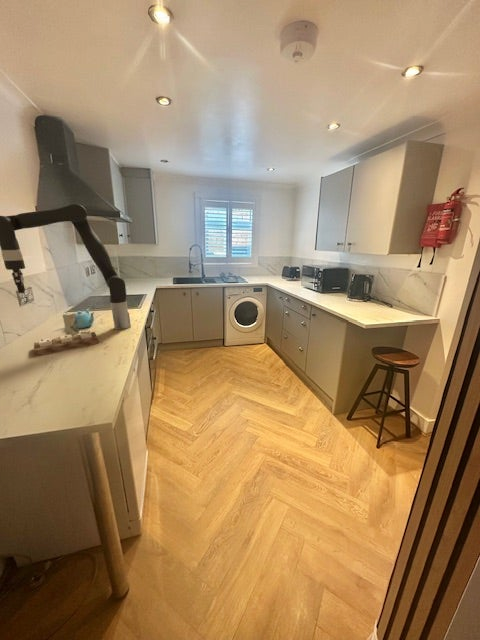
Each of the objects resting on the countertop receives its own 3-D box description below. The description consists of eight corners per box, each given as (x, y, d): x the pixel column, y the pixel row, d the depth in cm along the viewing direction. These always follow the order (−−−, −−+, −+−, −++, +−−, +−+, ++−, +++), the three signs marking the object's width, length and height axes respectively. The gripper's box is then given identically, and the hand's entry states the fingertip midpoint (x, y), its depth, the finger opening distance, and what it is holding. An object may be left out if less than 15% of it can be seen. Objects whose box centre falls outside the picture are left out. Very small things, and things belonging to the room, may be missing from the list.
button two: (52, 344, 134) (50, 337, 133) (52, 347, 131) (51, 340, 129) (40, 346, 131) (38, 339, 130) (40, 349, 128) (38, 342, 126)
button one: (72, 340, 139) (70, 333, 138) (73, 343, 136) (71, 336, 135) (61, 342, 137) (59, 335, 135) (62, 345, 133) (60, 338, 132)
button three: (90, 336, 145) (89, 330, 144) (92, 339, 141) (91, 332, 140) (80, 338, 142) (79, 332, 141) (81, 341, 138) (80, 334, 137)
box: (72, 335, 150) (68, 315, 147) (66, 335, 151) (61, 314, 147) (79, 332, 155) (75, 312, 152) (73, 332, 156) (69, 312, 152)
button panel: (95, 336, 149) (94, 331, 148) (98, 342, 140) (97, 337, 139) (35, 348, 133) (34, 343, 132) (35, 356, 124) (33, 350, 123)
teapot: (71, 331, 157) (68, 316, 154) (66, 325, 168) (63, 311, 164) (97, 326, 167) (94, 311, 164) (91, 321, 177) (88, 307, 174)
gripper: (22, 259, 122) (30, 292, 127) (23, 258, 133) (31, 288, 138) (1, 260, 118) (11, 294, 123) (4, 258, 129) (13, 290, 134)
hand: (22, 291), depth 130 cm, fingers open, 8 cm apart
